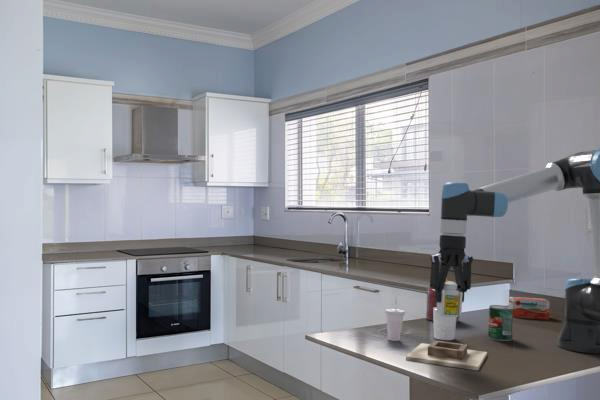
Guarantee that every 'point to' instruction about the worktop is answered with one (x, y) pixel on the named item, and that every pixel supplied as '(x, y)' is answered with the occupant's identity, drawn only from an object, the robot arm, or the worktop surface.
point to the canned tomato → (500, 322)
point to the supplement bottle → (451, 300)
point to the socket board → (448, 355)
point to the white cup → (443, 326)
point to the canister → (434, 302)
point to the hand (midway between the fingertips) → (448, 313)
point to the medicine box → (530, 308)
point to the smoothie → (394, 322)
